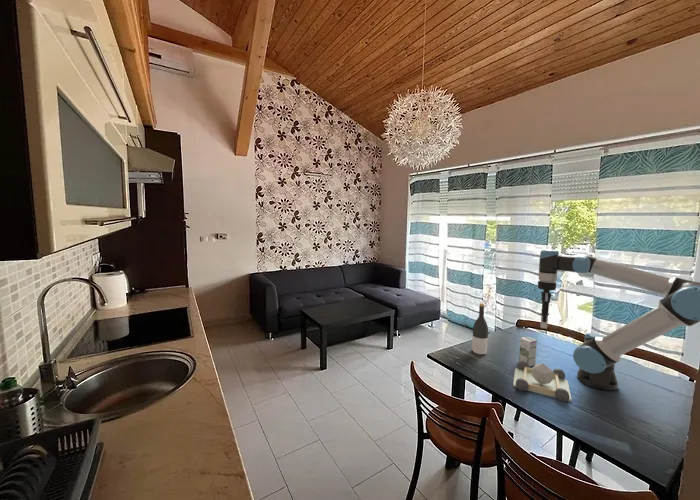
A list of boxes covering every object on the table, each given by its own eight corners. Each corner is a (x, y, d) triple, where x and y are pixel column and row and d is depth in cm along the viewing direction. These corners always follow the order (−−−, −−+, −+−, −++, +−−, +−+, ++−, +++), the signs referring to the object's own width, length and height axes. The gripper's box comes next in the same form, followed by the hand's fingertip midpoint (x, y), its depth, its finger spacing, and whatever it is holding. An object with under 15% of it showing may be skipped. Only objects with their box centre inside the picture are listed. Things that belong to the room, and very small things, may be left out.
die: (556, 390, 135) (558, 368, 134) (534, 387, 136) (536, 366, 135) (547, 380, 143) (549, 360, 142) (527, 378, 145) (529, 358, 144)
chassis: (566, 380, 145) (567, 370, 145) (571, 404, 126) (572, 393, 125) (515, 368, 157) (516, 359, 156) (512, 388, 137) (513, 378, 137)
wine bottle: (468, 352, 176) (471, 302, 173) (478, 350, 179) (481, 301, 176) (479, 357, 168) (482, 306, 166) (489, 355, 172) (492, 304, 169)
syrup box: (535, 366, 160) (537, 339, 158) (527, 367, 157) (529, 341, 156) (525, 361, 165) (527, 336, 164) (518, 363, 163) (519, 337, 161)
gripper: (538, 278, 154) (534, 322, 156) (538, 282, 143) (534, 330, 145) (555, 280, 150) (552, 325, 152) (557, 284, 139) (553, 333, 141)
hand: (543, 327), depth 148 cm, fingers closed
